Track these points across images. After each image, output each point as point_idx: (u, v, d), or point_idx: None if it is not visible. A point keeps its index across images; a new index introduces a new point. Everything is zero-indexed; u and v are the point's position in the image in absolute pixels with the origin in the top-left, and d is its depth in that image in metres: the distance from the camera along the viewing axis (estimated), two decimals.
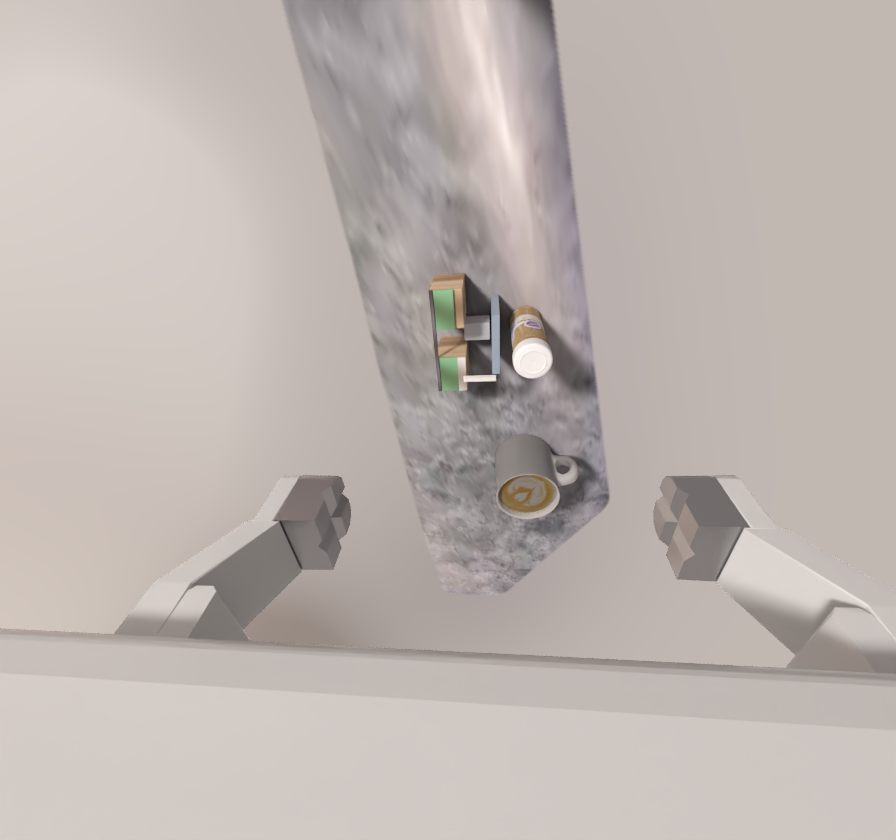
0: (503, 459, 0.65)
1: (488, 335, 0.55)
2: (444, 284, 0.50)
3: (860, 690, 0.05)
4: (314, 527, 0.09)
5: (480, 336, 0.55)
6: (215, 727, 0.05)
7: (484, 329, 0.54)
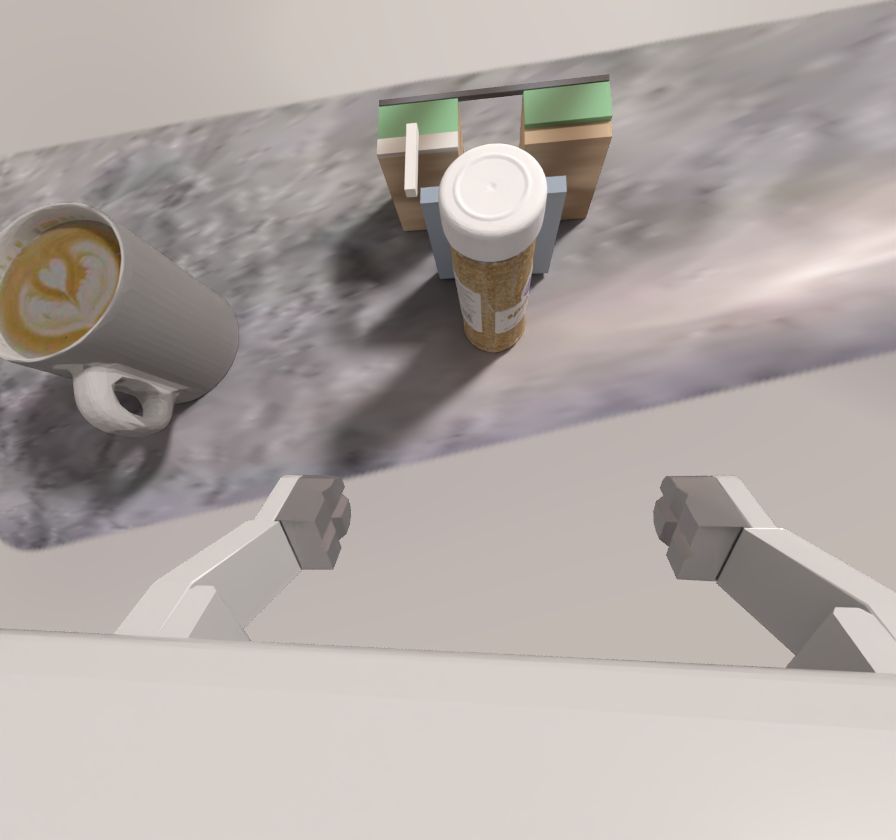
0: (180, 268, 0.28)
1: None
2: None
3: (860, 690, 0.05)
4: (314, 527, 0.09)
5: None
6: (215, 727, 0.05)
7: None
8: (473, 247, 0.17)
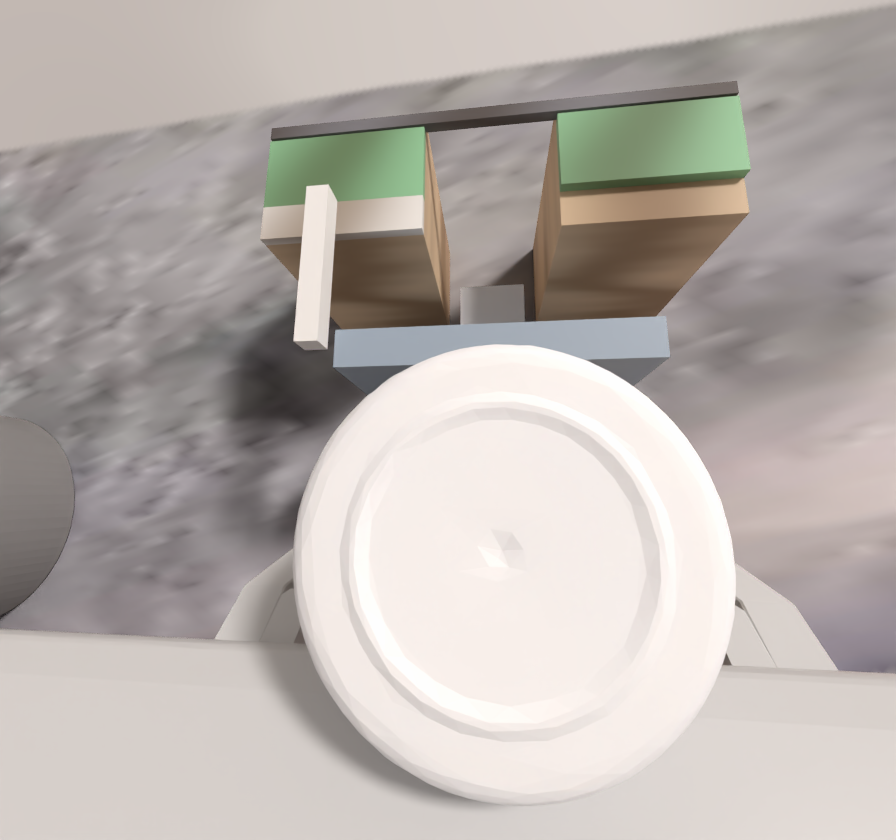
0: None
1: None
2: None
3: (860, 690, 0.05)
4: None
5: None
6: (215, 727, 0.05)
7: None
8: None
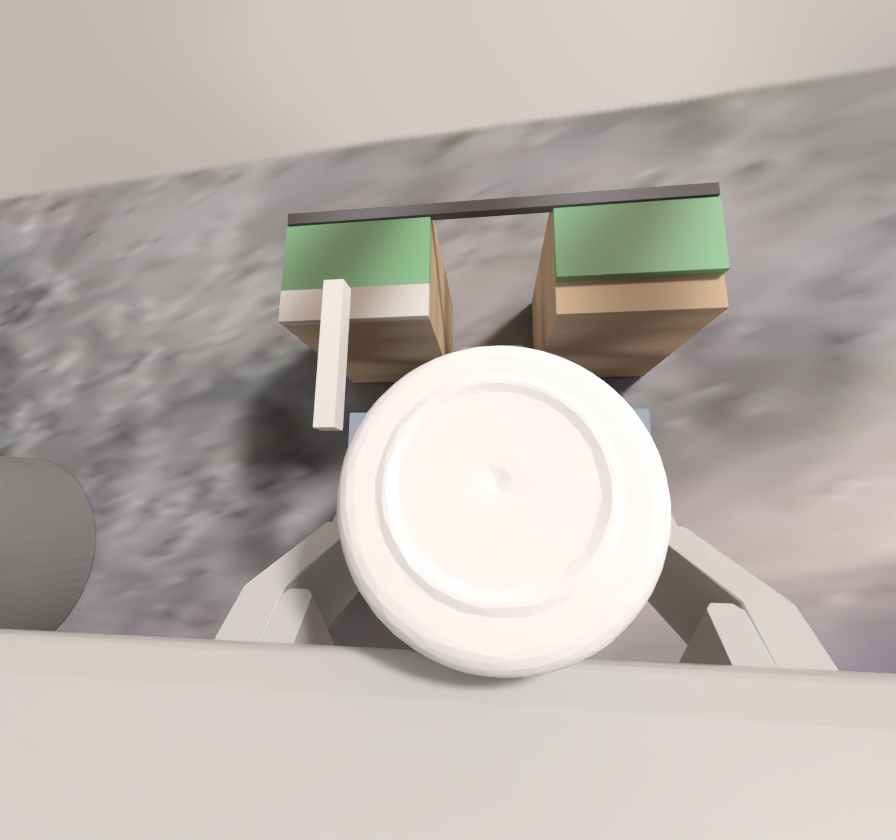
0: None
1: None
2: None
3: (860, 690, 0.05)
4: None
5: None
6: (215, 727, 0.05)
7: None
8: None
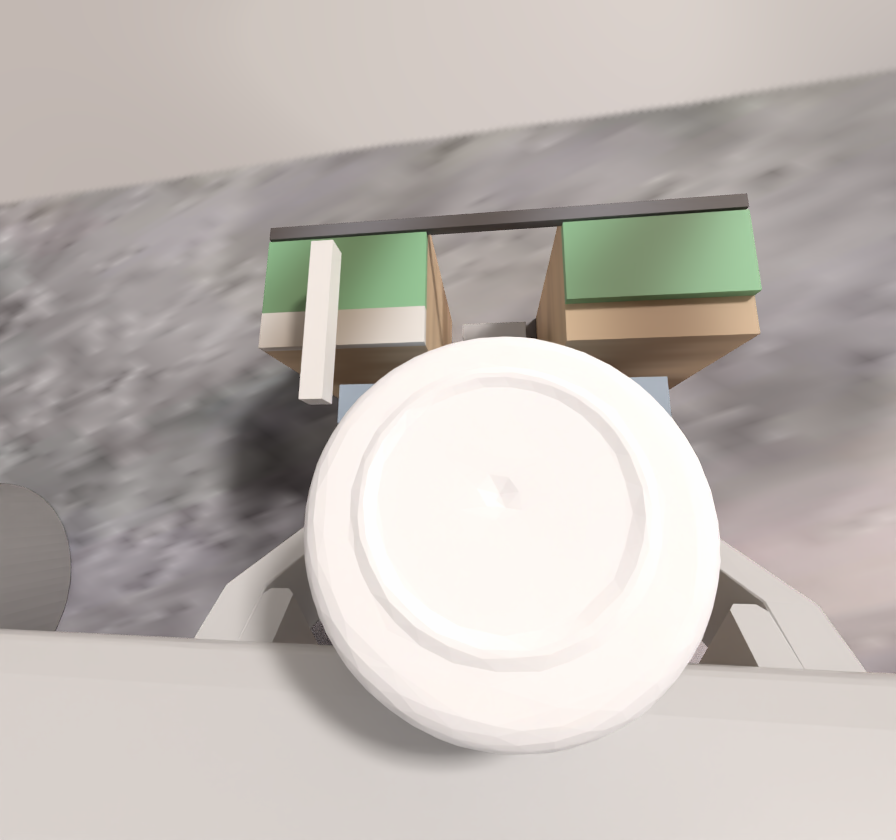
0: None
1: None
2: None
3: (860, 690, 0.05)
4: None
5: None
6: (215, 727, 0.05)
7: None
8: None
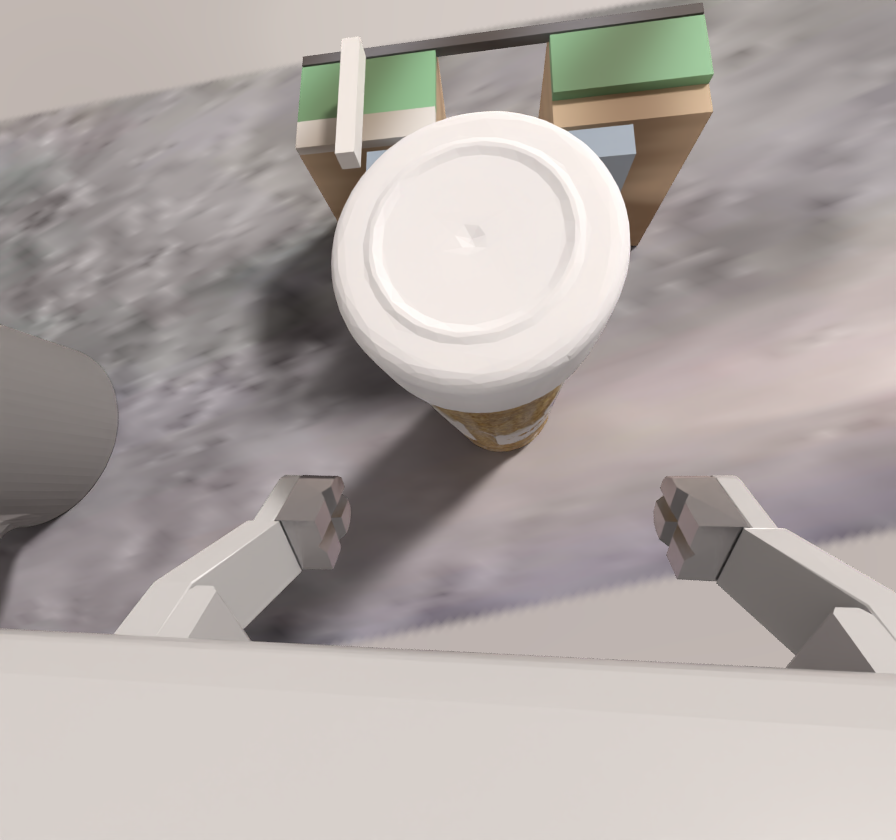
0: None
1: None
2: None
3: (860, 690, 0.05)
4: (314, 527, 0.09)
5: None
6: (215, 727, 0.05)
7: None
8: (422, 394, 0.06)
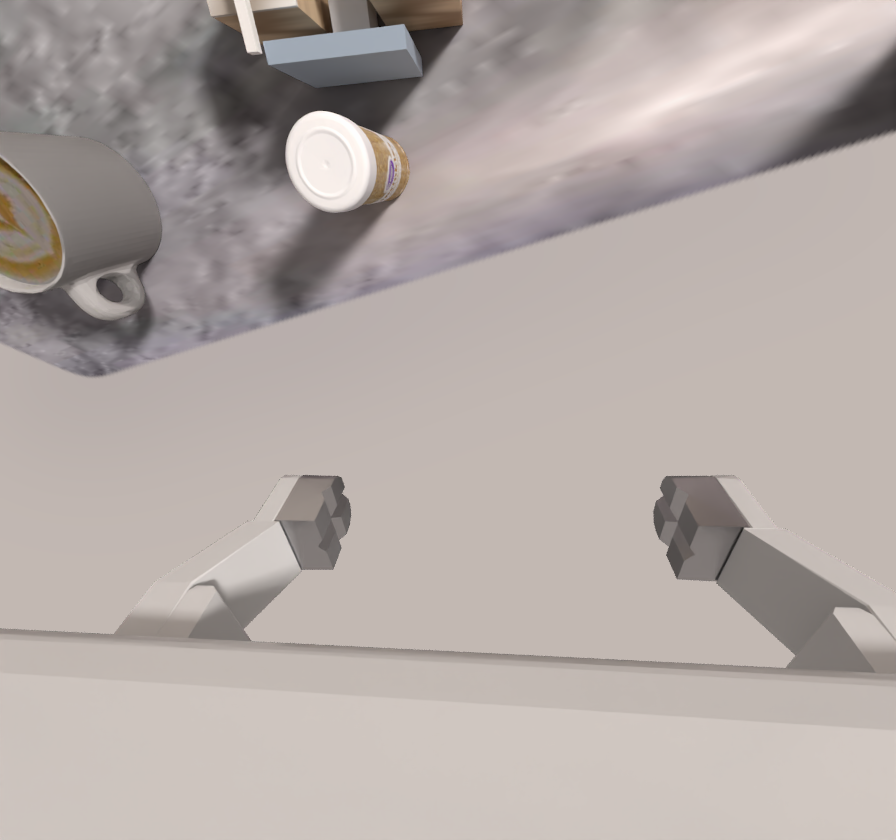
0: (67, 151, 0.29)
1: None
2: None
3: (860, 690, 0.05)
4: (314, 527, 0.09)
5: (339, 22, 0.25)
6: (215, 727, 0.05)
7: None
8: None
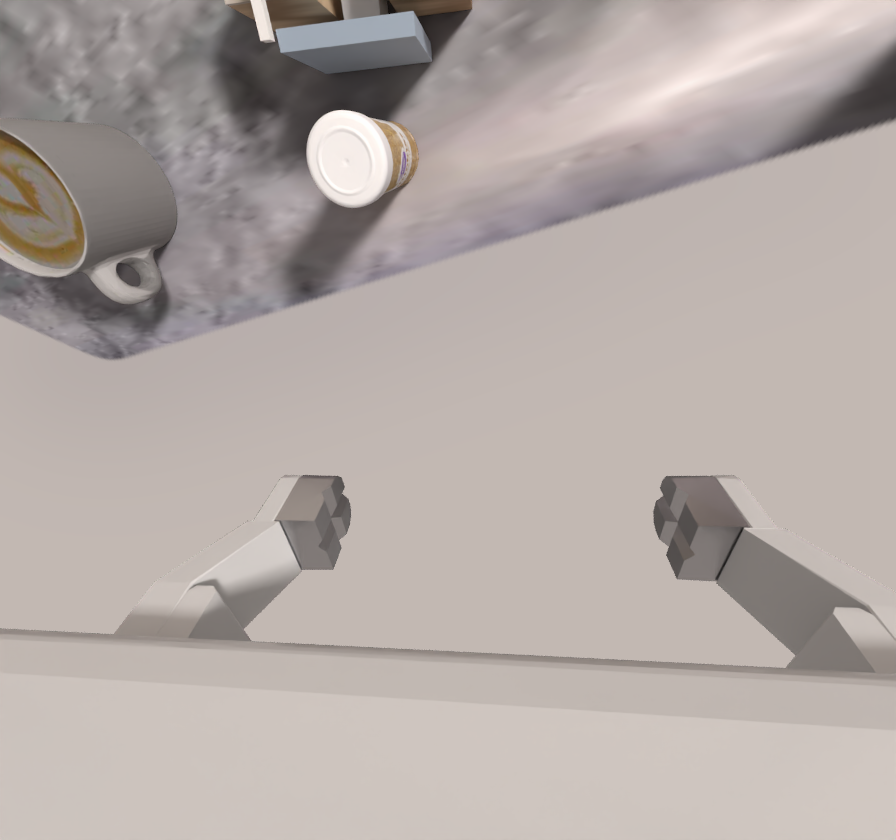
0: (87, 138, 0.30)
1: None
2: None
3: (860, 690, 0.05)
4: (314, 527, 0.09)
5: (349, 8, 0.25)
6: (214, 727, 0.05)
7: None
8: None
